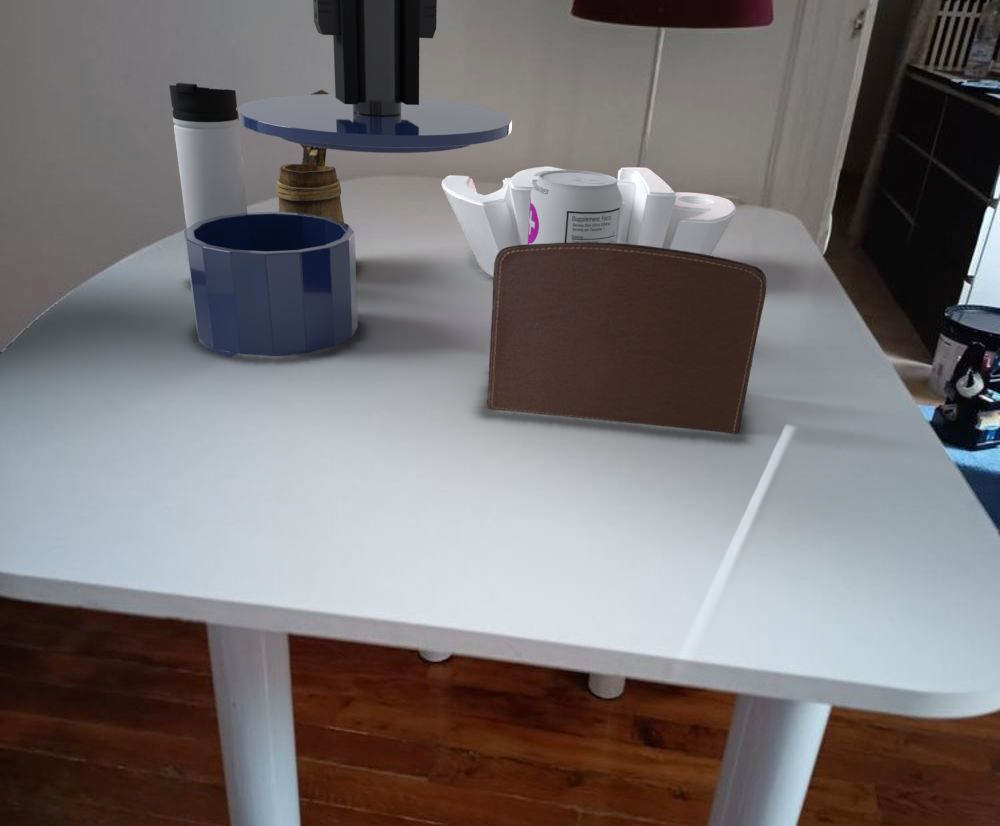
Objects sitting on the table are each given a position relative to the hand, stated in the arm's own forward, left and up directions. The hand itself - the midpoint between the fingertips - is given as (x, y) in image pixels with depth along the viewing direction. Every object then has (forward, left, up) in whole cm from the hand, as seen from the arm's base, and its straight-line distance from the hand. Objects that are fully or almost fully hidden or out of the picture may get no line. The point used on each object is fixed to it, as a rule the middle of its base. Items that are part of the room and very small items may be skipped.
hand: (376, 100), depth 52 cm
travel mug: (-37, +27, -24) cm, 51 cm away
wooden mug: (-33, +39, -24) cm, 56 cm away
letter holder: (+10, +19, -24) cm, 32 cm away
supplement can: (+1, +31, -24) cm, 39 cm away
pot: (-23, +18, -24) cm, 37 cm away
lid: (0, 0, -1) cm, 1 cm away
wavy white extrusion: (-6, +55, -24) cm, 60 cm away
